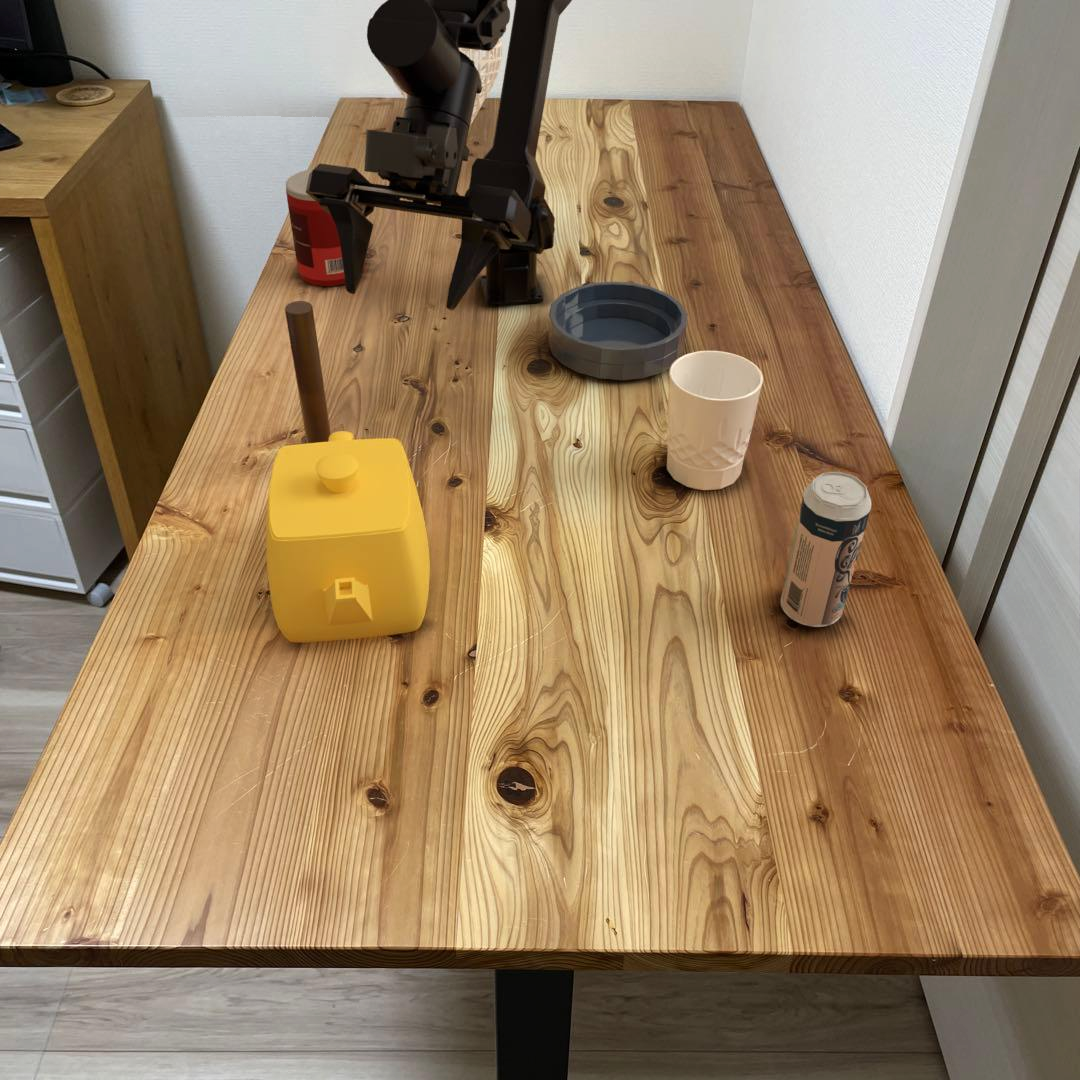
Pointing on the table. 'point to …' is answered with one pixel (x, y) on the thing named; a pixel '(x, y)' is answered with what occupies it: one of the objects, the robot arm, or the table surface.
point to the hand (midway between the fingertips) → (399, 300)
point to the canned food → (313, 236)
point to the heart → (488, 74)
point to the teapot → (345, 541)
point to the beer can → (825, 548)
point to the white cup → (710, 417)
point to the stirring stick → (308, 371)
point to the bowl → (617, 330)
